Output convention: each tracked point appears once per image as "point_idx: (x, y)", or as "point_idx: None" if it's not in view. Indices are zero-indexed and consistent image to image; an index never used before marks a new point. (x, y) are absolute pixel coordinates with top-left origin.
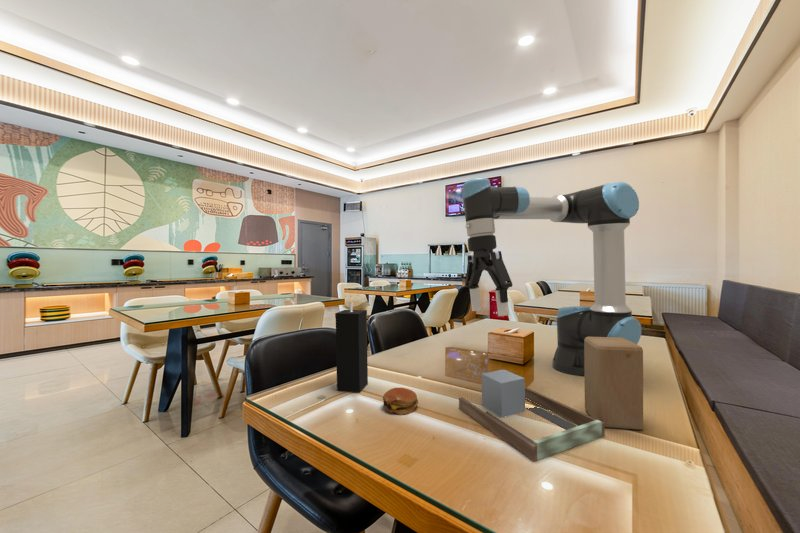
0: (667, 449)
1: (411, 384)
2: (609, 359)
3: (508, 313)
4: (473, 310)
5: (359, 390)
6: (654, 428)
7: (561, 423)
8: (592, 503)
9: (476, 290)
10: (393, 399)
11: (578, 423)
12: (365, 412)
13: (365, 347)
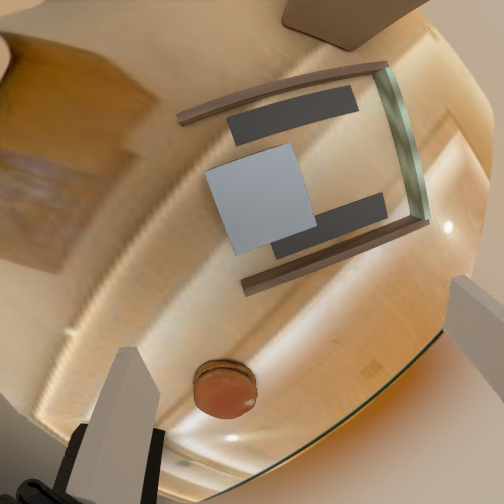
0: (407, 22)
1: (115, 355)
2: None
3: (468, 280)
4: (158, 395)
5: (164, 433)
6: None
7: (336, 106)
8: (471, 196)
9: (111, 495)
10: (251, 408)
11: (342, 78)
12: (239, 422)
13: None
